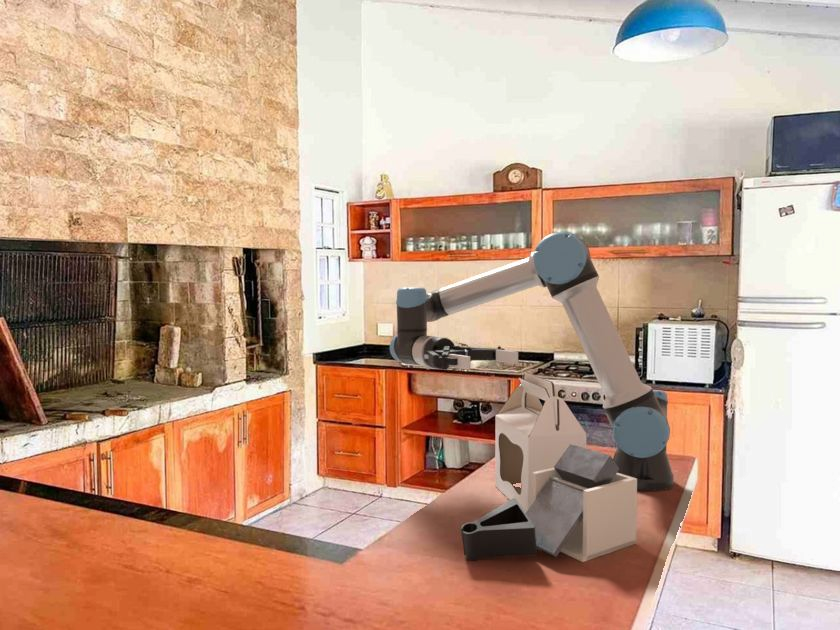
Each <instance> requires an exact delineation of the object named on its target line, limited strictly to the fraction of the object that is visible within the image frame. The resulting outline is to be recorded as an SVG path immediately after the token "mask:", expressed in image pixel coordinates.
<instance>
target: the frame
mask: <svg viewBox="0 0 840 630" xmlns="http://www.w3.org/2000/svg"><path fill="white" fill-rule="evenodd" d="M549 480H551V481H554V482H556V483H559V484H562V485H565V486H568V487H571V488H574V489H576V490H579V491H582V492H583V518H582V519H581V521H580V522H579V524H578V525H577V527H576V528H575V530H574V531H573V533H572V534H571V536H570V537H569V539H568V540H567V542H566V543H565V545H564V546H563V548H562V549H561V551H560V552H559V553H563V554H565V555H567V556H569V557H571V558H573V559H575V560H577V561H580V562H581V563H586V562H588V561H590V560H593V559H596V558H599V557H601V556H605V555H608V554H610V553H613V552H616V551H618V550H619V551H620V550H621V549H625V548H628V547H630V546H634V545H636V544H637V515H638V514H637V511H638V510H637V508H638V507H637V506H638V505H637V504H638V501H637V500H638V499H637V498H638V490H637V478H633V477H630V476H627V475H623V474H620V473H616V475H615V476H614V478H613V479H612V481H611V482H610V483H609V484H605V485H601V486H598V487H594V488H590V489H588V488H585V487H583V486H580V485H577V484H574V483H571V482H568V481H565V480H562V478H561V477H560V475H559V474H558V473H557V471H556V470H555V468H550V469H545V470H541V471H536V472H532V503H533V502H534V501H535V499H536V498H537V496H538V495H539V494H540V492H541V491H542V489H543V488H544V487H545V485H546V484H547V482H548V481H549Z"/></svg>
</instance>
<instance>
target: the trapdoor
mask: <svg viewBox="0 0 840 630" xmlns="http://www.w3.org/2000/svg"><path fill="white" fill-rule="evenodd" d="M554 468H555V470H556V471H557V473H558V474H559V475H560V477H561V478H562V480H565V481H568V482H571V483H574V484H577V485H580V486H583V487H585V488H588V489H590V488H594V487H598V486H601V485H605V484H609V483H610V482H611V481H612V479H613V478H614V476H615V475H616V473H617V472H618V470H619V468H618V466H617V465H616V463H615V462H614V460H613V457H612V456H611V454H607V453H604V452H600V451H596V450H593V449H590V448H587V447H586V448H583V447H579V446H575V445H572V444H570V445H569V446H568V448H567V449H566V451H565V452H564V453H563V455H562V456H561V458H560V459H559V460H558V462H557V463H556V465H555V466H554ZM526 514H527V516H528V517H529V519H530V520H531V522H532V523H533V524H534V526H535V537H536V549H538V550H540V551H543V552H544V553H547V554H549V555H551V556H553V557H555V558H557V557H558V556H559V554H560V553H561V552H560V551H561V549H562V548H563V546H564V545H565V543H566V542H567V540H568V539H569V537H570V536H571V534H572V533H573V531H574V530H575V528H576V527H577V525H578V524H579V522H580V521H581V519H582V518H583V492H582V491H579V490H576V489H574V488H571V487H568V486H565V485H562V484H559V483H556V482H554V481H551V480H549V481H548V482H547V484H546V485H545V487H544V488H543V489H542V491H541V492H540V494H539V495H538V496H537V498H536V499H535V501H534V502H533V503H532V505H531V506H530V508H529V509H528V510H527V512H526Z"/></svg>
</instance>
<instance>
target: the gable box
mask: <svg viewBox="0 0 840 630" xmlns="http://www.w3.org/2000/svg"><path fill="white" fill-rule="evenodd" d="M518 380H519V382H520V384H519V385H517V386H516V387H515V389H514V390H513V391H512V393H511V394H510V396H509V397H508V399H507V400H506V401H505V403H504V404H503V406H502V407H501V409H500V410H499V412H498V413H497V414H495V418H494V419H495V424H494V425H495V428H494V429H495V431H494V432H495V436H494V437H495V438H494V440H495V443H494V445H495V446H494V448H495V449H494V451H495V452H494V454H495V455H494V456H495V457H494V459H495V460H494V485H495V487H496V488H497V489H498V490H499V491H500V492H501V493H502V494H503V495H504V497H506V498H507V499H508V501H510V500H511V499H513V498H515V499H516V500H517V501H518V503H519V504H520V506H521V507H522V508H523V510H524V511H525V513H526V512H527V510H528V509H529V508H530V506H531V505H532V472H536V471H541V470H545V469H550V468H554V466H555V465H556V463H557V462H558V460H559V459H560V458H561V456H562V455H563V453H564V452H565V451H566V449H567V448H568V446H569V445H570V444H572V445H575V446H579V447H583V448H586V449H587V436H588V435H587V432H586V431H585V430H584V428H583V426H582V425H581V424H580V422H579V421H578V419H577V418H576V416H575V415H574V414H573V412H572V410H571V409H570V408H569V406H568V404H567V403H566V402H565V400H564V399H563V398H561V397H559V396H556V393H555V390H556V389H555V384H554V382H553V381H551V380H548V379H545V378H543V377H540V376H537V375H535V374H532V373H529V372H525V373H524V377H523V378H522V377H518ZM540 400H542V401H544V403H543V404H542V403H541V401H540ZM516 483H521V488H520V487H515V486H513V484H516Z"/></svg>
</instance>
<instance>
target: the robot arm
mask: <svg viewBox="0 0 840 630" xmlns="http://www.w3.org/2000/svg"><path fill="white" fill-rule="evenodd" d="M591 258H592V257H591V252H590V249H589V246H588V245H587V243H585V241H583V240H582V239H581V238H579V236H577V235H575V234H574V233H571V232H568V231H555V232H552V233H550V234H548V235H546V236H544V238H542V239H541V240H540V241H539V243H538V244H537V246H536V247H535V249H534V251H532V252H531V253H530V255H529V256H528V257H527V258H523V259H520V260H517V261H514V262H512V263H509V264H506V265H504V266H501V267H498V268H495V269H491V270H490V271H487V272H484V273H481V274H478V275H476V276H472V277H470V278H467V279H464V280H461V281H458V282H455V283H453V284H449V285H447V286H444V287H441V288H439V289H436V290H432V291H430V292H428V293H427V290H426V288H425V287H421V286H420V287H419V286H418V287H400V288H398V289H397V292H396V301H395V303H396V326H397V327H396V328H397V329H396V335H394V336H393V337H392V339H391V342H390V344H389V353H390V355H391V356H392V358H393V359H394V360H395V361H397V362H400V363H403V364H405V365H415V366H421V367H425V368H426V370H430V369H431V368H433V369H437V370H443V371H444V370H448V368H455V369H461V370H467V371H468V370H471V362H472V361H495V362H497V363H503V364H504V363H505V364H510V365H519V351H515V350H506V349H505V348H502V347H501V346H497V348H491V347H489V348H487V347H473V346H461V345H455V343H454V342H453V341H452V340H451V339H450V338H448V337H443V336H442V337H441V336H440V337H439V336H434V335H428V333H427V331H428V328H427V327H428V324H427V323H430V322H436V321H438V320H440V319H442V318H446V317H448V316H450V315H453V314H457V313H459V312H463V311H466V310H468V309H472V308H474V307H478V306H480V305H481V306H482V305H483V304H484V305H485V304H486V303H490V302H492V301H496V300H498V299H501V298H504V297H507V296H511V295H515V294H517V293H519V292H522V291H525V290H528V289H532V288H534V287H537V286H539V287H542V288H543V289H544V288H547V290H548V292H549V294H550V297H551V298H552V299H553V300H556V301H558V302H560V303H561V304H562V307H563V309H564V310H565V313H566V315H567V317H568V319H569V321H570V323H571V326H572V327H573V329H574V333H575V334H576V337H577V338H578V341H579V343H580V345H581V347H582V349H583V351H584V354H585V356H586V358H587V360H588V363H589V364H590V367H591V368H592V371H593V373H594V375H595V377H596V379H597V381H598V384H599V386H600V388H601V390H602V392H603V394H604V397H605V399H604V402H603V404H602V408H603V411H604V413H605V416H607V420H608V421H609V424H610V426H611V429H612V437H613V440H614V442H615V444H616V450H615V453H614V456H613V457H612V459H613V460H614V462H615V463H616V465H617V466H618V468H619V470H618V472H617V473H620V474H623V475H627V476H630V477H633V478H637V491H648V492H649V491H650V492H651V491H653V492H654V491H663V490H664V491H665V490H668V489H671V488H672V487H673V486H674V473H673V471H672V467H671V464H670V460H669V457H668V454H667V445H668V444H667V443H668V441H669V440H670V433H671V428H670V424H669V420H668V404H669V400H668V394H667V391H664V390H661V389H653V388H652V386H651V385H648V384H645V383H643V382H642V381H641V379H640V376H639V374H638V372H637V369H636V368H635V366H634V363H633V362H632V359H631V357H630V355H629V353H628V351H627V349H626V347H625V345H624V342H623V340H622V338H621V336H620V334H619V332H618V330H617V328H616V326H615V324H614V322H613V320H612V317H611V315H610V312H609V311H608V309H607V306H606V304H605V301H604V300H603V297H602V296H601V294H600V292H599V290H598V288H597V286H598V283H599V280H600V276H599V274H598V271H597V270H596V267H595V264H594V263H593V261H592V259H591Z"/></svg>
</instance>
